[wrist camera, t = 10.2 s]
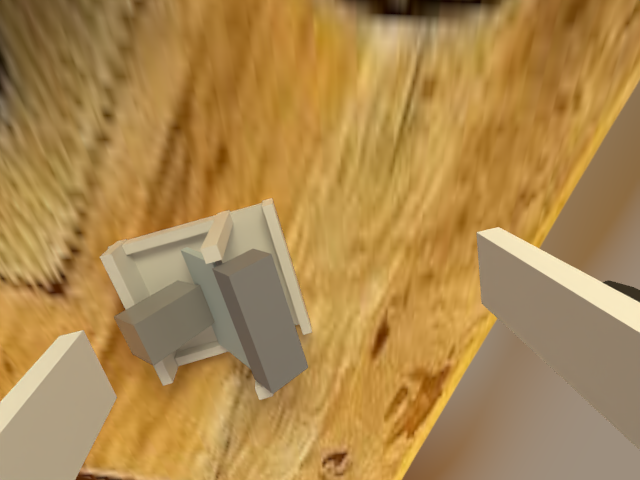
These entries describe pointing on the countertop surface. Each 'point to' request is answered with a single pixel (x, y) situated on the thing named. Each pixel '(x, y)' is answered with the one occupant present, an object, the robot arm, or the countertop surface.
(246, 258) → the trapdoor
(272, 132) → the countertop surface
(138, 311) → the gray rectangular block
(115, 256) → the frame
